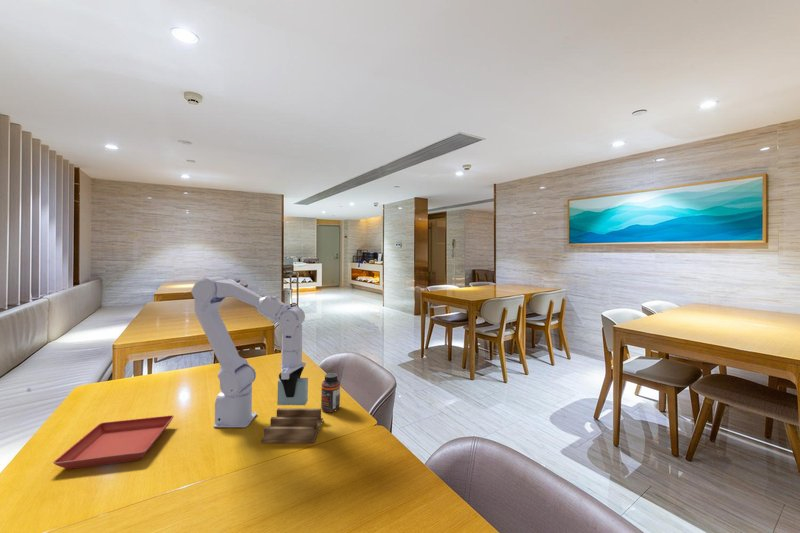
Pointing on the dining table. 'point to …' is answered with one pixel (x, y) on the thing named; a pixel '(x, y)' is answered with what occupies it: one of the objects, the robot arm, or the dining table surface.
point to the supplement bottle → (330, 393)
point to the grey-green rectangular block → (299, 395)
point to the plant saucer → (114, 442)
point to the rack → (293, 426)
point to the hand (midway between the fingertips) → (291, 394)
